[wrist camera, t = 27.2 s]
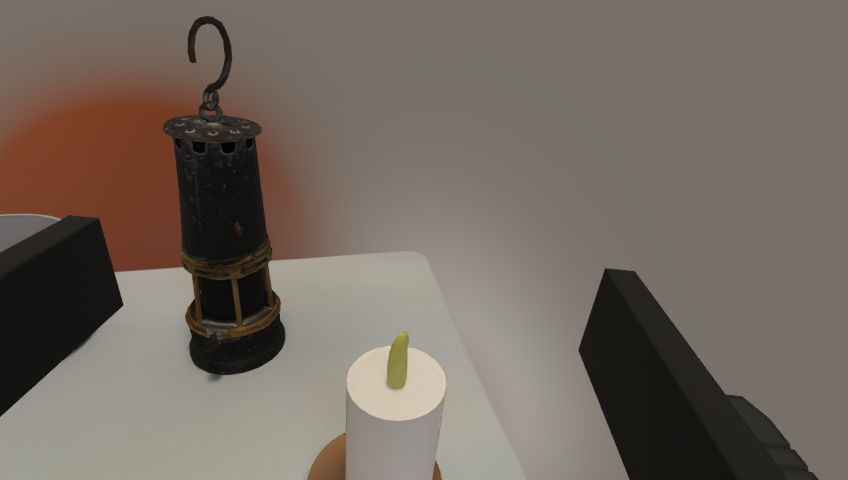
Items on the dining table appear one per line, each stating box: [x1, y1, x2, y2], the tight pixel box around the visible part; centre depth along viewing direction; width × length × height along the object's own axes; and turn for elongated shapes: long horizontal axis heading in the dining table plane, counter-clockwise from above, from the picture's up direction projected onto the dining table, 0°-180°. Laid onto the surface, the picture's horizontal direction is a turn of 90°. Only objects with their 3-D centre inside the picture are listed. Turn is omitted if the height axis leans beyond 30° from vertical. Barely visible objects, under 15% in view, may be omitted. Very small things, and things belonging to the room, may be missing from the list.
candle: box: [346, 332, 446, 480], centre depth 29 cm, size 6×6×15 cm
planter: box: [0, 214, 61, 252], centre depth 40 cm, size 13×13×10 cm
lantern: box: [163, 16, 285, 374], centre depth 38 cm, size 9×9×30 cm
